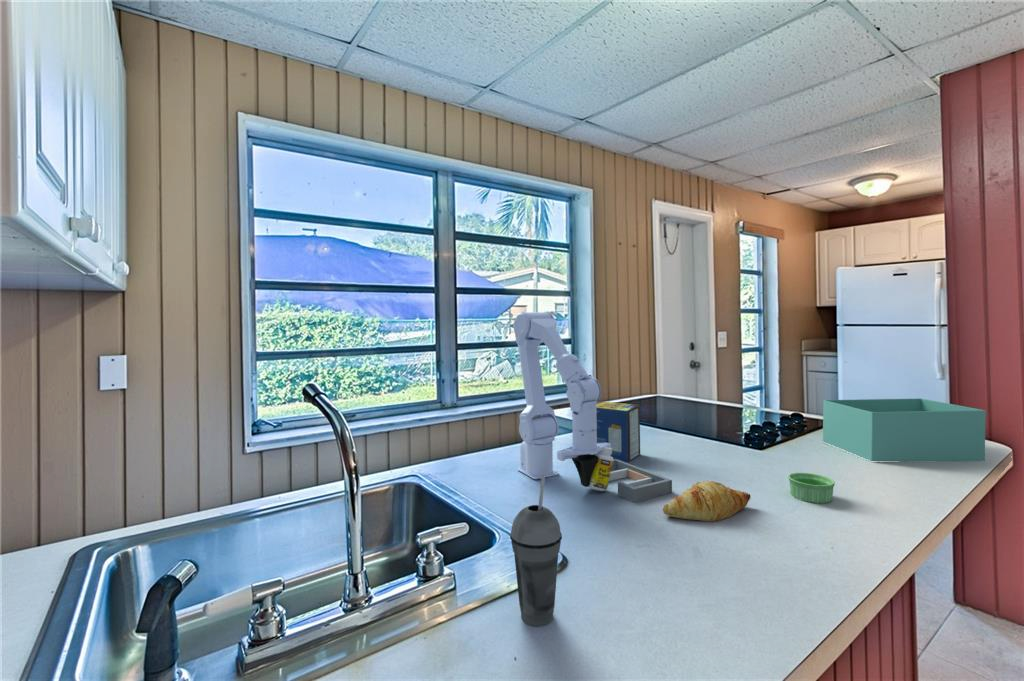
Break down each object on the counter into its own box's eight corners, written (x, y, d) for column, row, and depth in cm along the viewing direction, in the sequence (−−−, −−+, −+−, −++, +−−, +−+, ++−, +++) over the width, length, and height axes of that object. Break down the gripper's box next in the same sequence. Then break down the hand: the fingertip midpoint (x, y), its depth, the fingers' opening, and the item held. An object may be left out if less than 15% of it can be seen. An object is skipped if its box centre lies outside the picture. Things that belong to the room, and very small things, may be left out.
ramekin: (825, 492, 109) (825, 473, 109) (841, 506, 101) (841, 487, 100) (783, 489, 112) (783, 471, 111) (795, 503, 103) (795, 483, 103)
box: (985, 461, 130) (986, 410, 130) (871, 463, 130) (872, 412, 130) (920, 442, 151) (921, 398, 150) (822, 444, 151) (823, 400, 150)
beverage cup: (509, 602, 68) (506, 468, 67) (557, 598, 69) (556, 466, 68) (513, 635, 61) (511, 486, 60) (568, 631, 62) (566, 483, 61)
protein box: (595, 447, 151) (594, 400, 150) (640, 454, 142) (640, 404, 141) (580, 455, 143) (579, 405, 142) (628, 463, 134) (627, 410, 133)
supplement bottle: (594, 491, 108) (603, 447, 109) (579, 483, 113) (588, 442, 114) (611, 492, 111) (620, 450, 112) (596, 485, 116) (604, 445, 117)
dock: (581, 476, 122) (581, 465, 122) (616, 469, 128) (616, 458, 128) (633, 502, 105) (633, 489, 105) (672, 492, 110) (671, 480, 110)
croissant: (672, 541, 93) (683, 514, 90) (647, 502, 102) (656, 476, 98) (757, 524, 99) (771, 498, 95) (727, 489, 108) (738, 463, 104)
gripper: (568, 436, 103) (569, 496, 104) (619, 428, 110) (619, 485, 110) (551, 430, 109) (552, 486, 110) (600, 423, 116) (601, 476, 117)
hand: (585, 485), depth 111 cm, fingers closed
